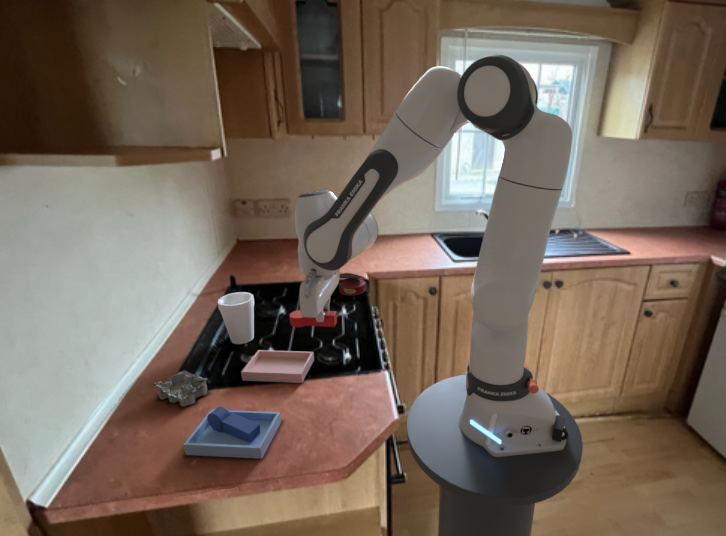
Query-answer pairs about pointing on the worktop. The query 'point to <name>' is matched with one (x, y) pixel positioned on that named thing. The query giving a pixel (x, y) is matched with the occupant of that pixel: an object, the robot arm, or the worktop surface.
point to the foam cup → (238, 316)
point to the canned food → (351, 284)
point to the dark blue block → (233, 424)
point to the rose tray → (278, 366)
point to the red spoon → (313, 319)
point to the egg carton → (182, 388)
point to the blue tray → (233, 437)
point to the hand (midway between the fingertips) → (323, 316)
